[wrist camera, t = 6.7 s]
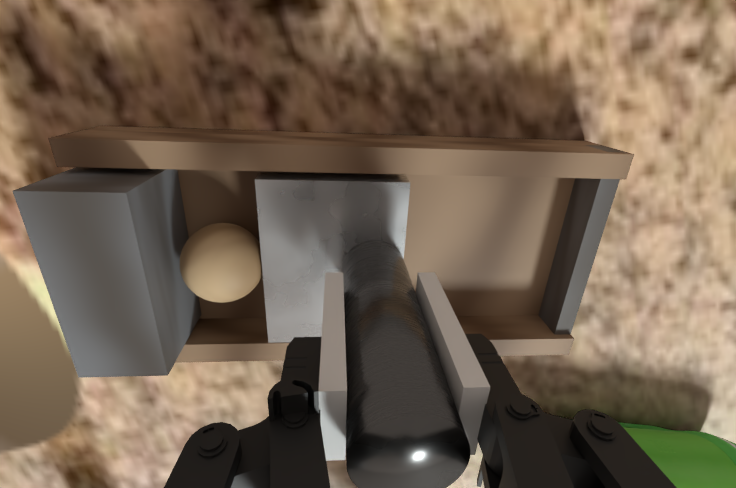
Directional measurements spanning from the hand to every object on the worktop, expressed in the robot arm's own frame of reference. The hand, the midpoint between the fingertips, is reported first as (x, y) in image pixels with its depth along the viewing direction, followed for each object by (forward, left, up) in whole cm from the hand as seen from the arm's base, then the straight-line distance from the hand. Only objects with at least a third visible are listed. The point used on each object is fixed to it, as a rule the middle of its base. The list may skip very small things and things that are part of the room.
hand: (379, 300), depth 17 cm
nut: (-8, 0, -4) cm, 8 cm away
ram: (-2, 0, -5) cm, 6 cm away
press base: (-1, 0, -7) cm, 7 cm away
